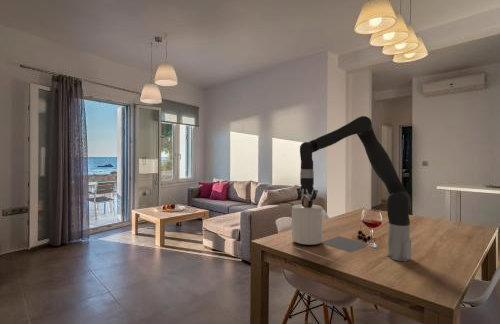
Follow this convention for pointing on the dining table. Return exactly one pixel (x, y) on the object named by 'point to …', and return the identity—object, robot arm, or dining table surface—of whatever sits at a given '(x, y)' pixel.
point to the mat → (345, 244)
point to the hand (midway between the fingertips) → (307, 206)
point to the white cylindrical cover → (307, 223)
